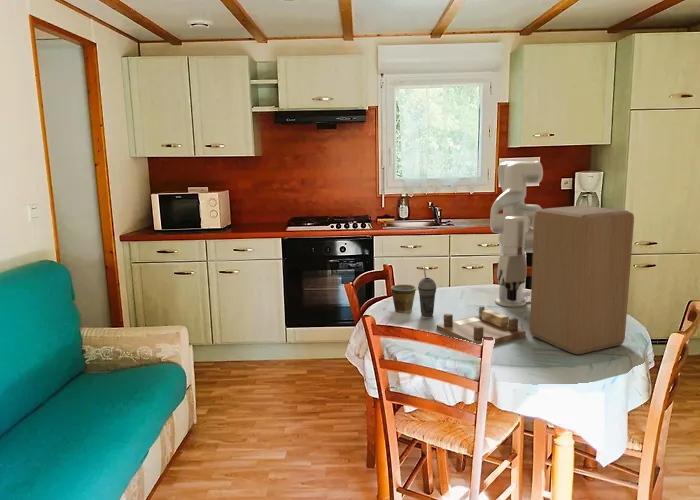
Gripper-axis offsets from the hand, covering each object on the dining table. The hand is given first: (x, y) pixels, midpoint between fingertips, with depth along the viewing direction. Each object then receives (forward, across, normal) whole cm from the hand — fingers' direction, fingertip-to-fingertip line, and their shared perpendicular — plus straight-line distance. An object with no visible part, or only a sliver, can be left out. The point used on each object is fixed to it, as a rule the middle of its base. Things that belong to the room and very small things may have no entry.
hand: (511, 299), depth 198 cm
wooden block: (+11, -10, +21) cm, 26 cm away
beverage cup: (+10, +20, -25) cm, 34 cm away
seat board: (+11, +14, 0) cm, 17 cm away
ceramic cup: (+10, +26, -37) cm, 46 cm away
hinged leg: (+8, +6, -2) cm, 10 cm away
